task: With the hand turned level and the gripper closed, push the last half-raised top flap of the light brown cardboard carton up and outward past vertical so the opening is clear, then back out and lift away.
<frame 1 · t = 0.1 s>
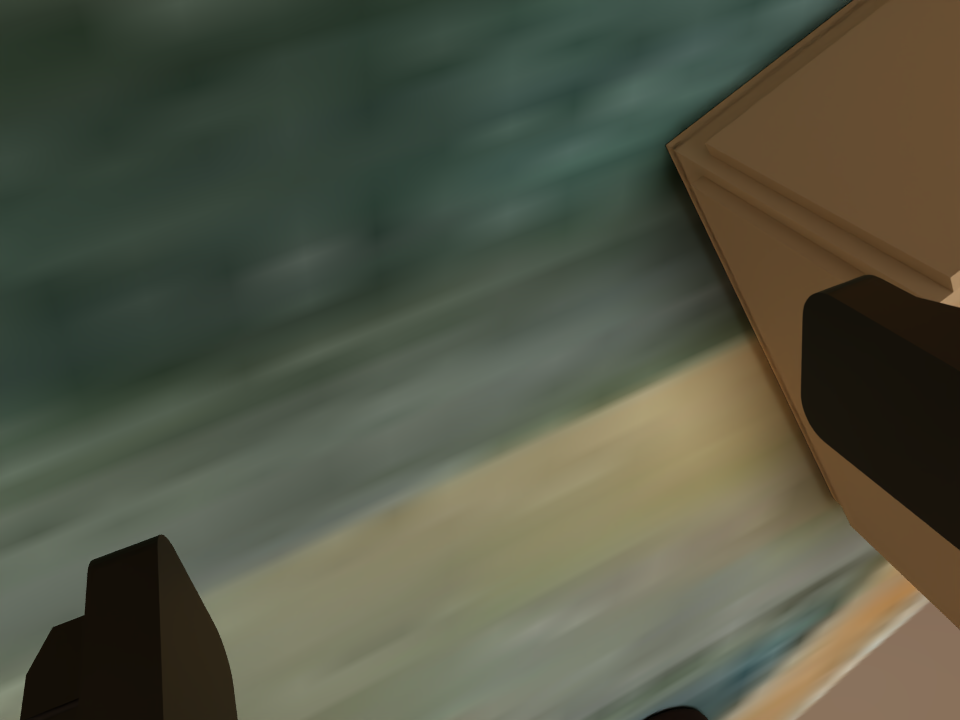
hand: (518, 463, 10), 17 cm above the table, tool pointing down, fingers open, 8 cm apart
carton: (955, 215, 36), on the table
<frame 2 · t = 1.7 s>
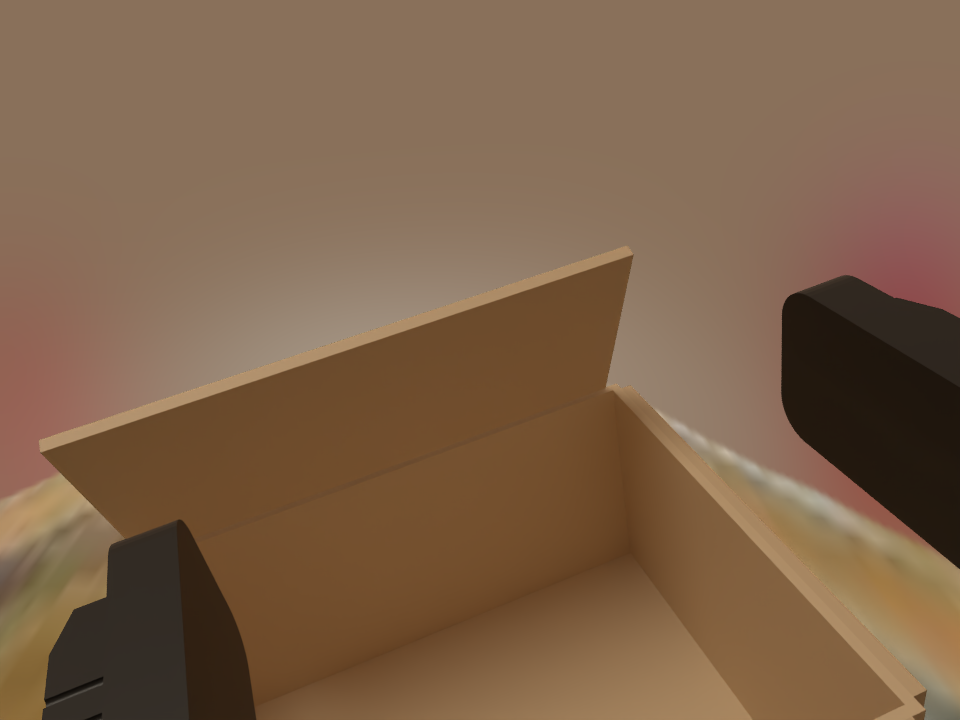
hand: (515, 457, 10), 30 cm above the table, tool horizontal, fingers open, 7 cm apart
carton flap: (372, 408, 35), point 17 cm above the table, hinge at 65.0°
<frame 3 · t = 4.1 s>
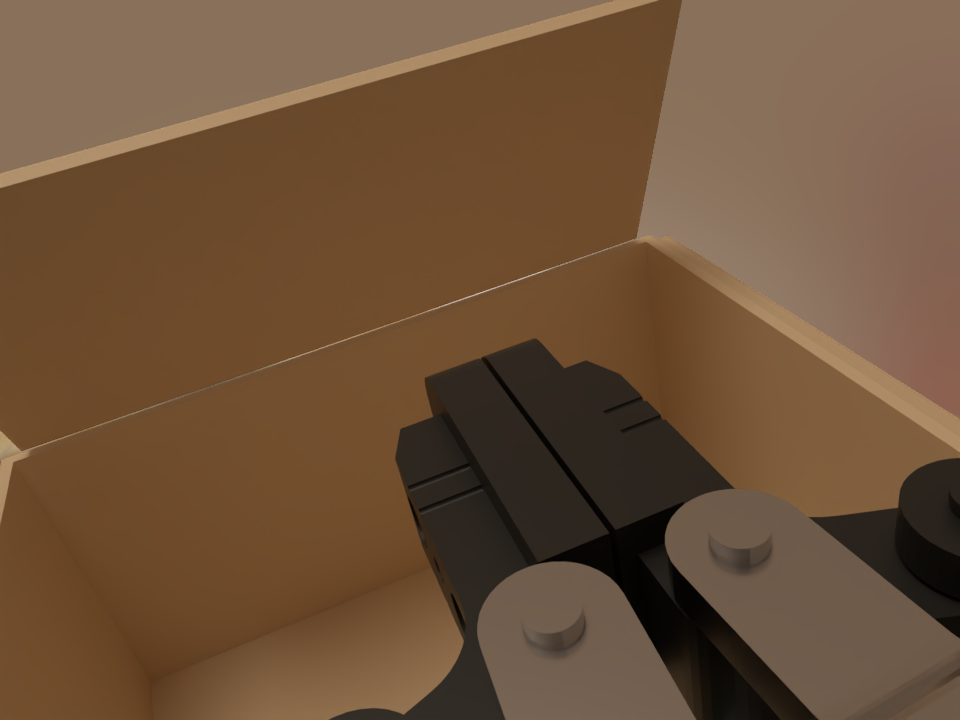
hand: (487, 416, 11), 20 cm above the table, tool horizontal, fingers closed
carton flap: (324, 232, 25), point 17 cm above the table, hinge at 65.0°
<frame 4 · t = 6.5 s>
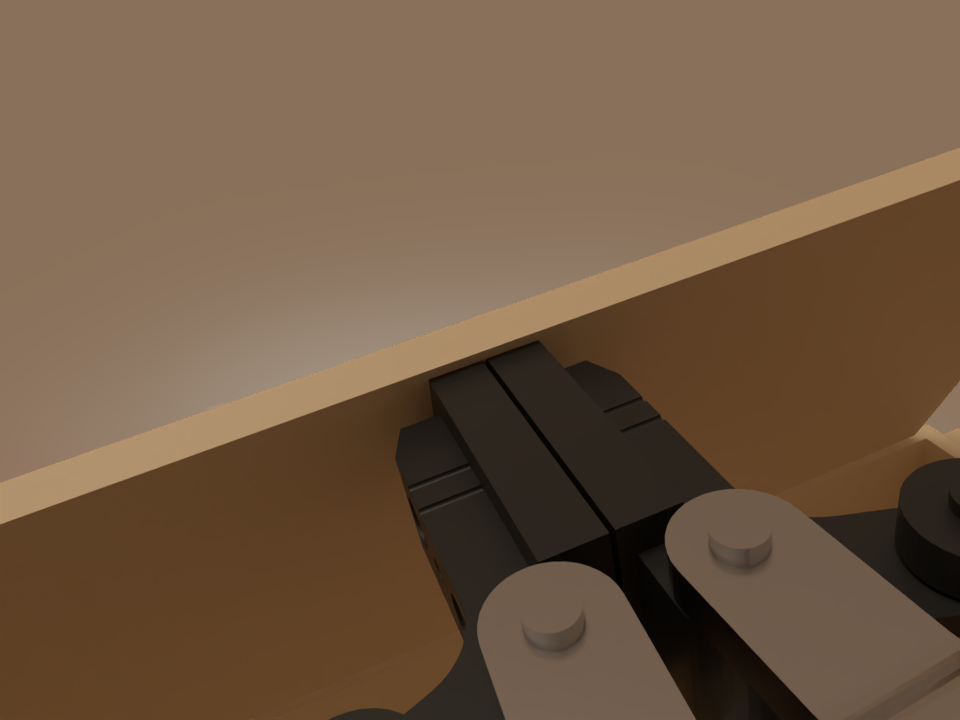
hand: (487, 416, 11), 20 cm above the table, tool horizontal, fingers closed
carton flap: (476, 509, 14), point 17 cm above the table, hinge at 65.3°, touching gripper
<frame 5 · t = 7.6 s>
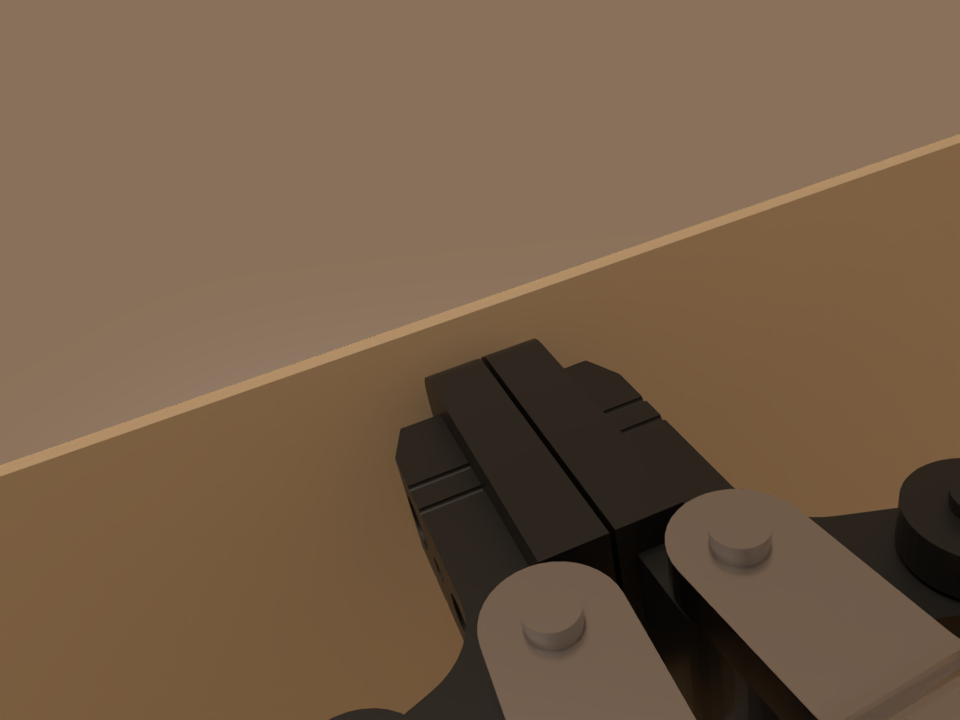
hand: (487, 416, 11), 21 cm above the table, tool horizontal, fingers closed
carton flap: (540, 634, 12), point 17 cm above the table, hinge at 104.2°, touching gripper
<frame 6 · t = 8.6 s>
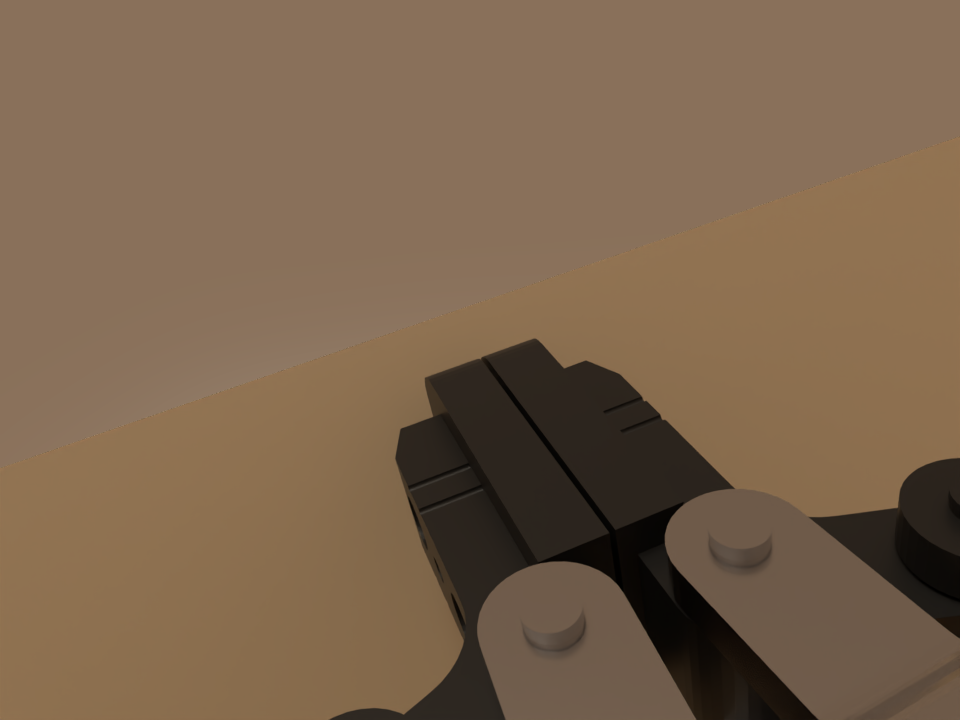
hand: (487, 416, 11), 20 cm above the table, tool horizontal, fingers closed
carton flap: (559, 661, 12), point 17 cm above the table, hinge at 120.7°, touching gripper
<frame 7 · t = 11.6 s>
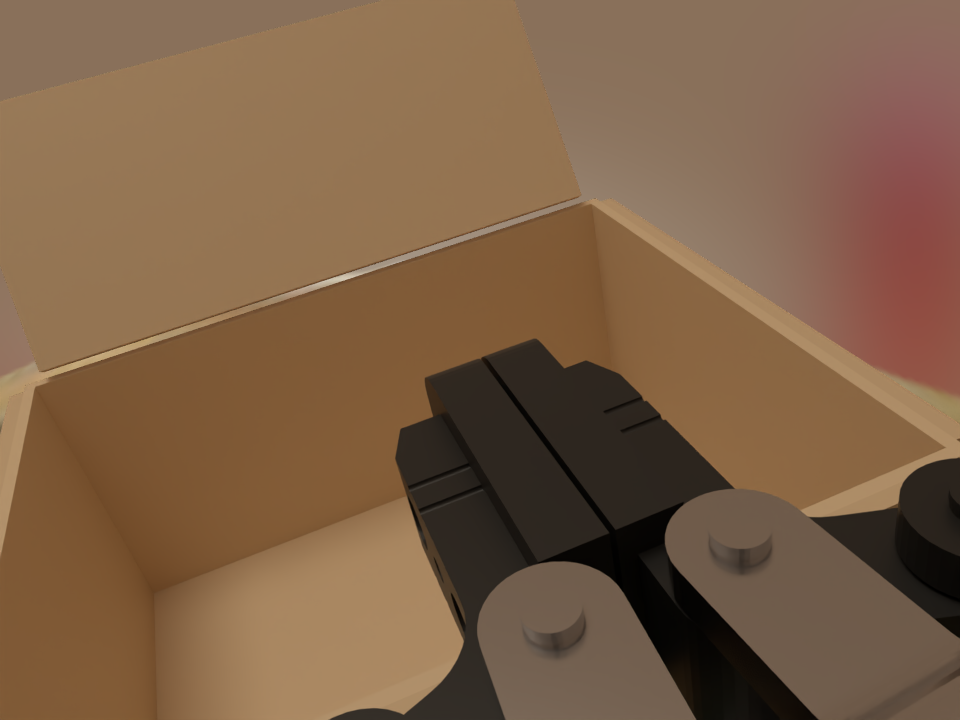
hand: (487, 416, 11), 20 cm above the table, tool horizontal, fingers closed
carton: (466, 658, 32), on the table
carton flap: (285, 160, 34), point 17 cm above the table, hinge at 120.9°
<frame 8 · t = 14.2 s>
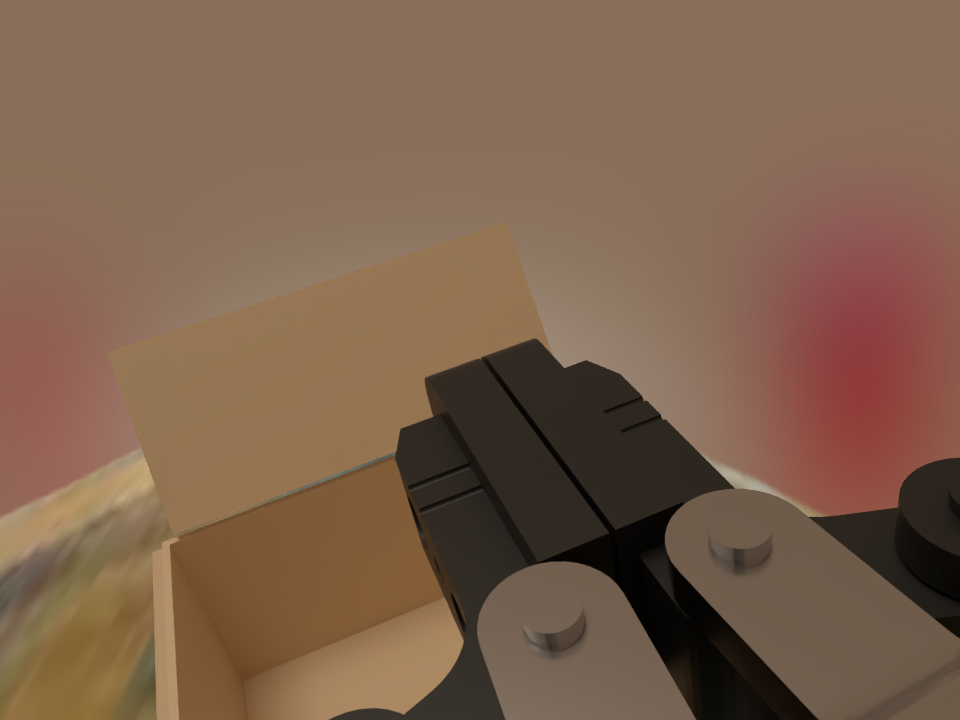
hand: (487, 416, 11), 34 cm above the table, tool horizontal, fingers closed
carton flap: (346, 371, 46), point 17 cm above the table, hinge at 120.9°
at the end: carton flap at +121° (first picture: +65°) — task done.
